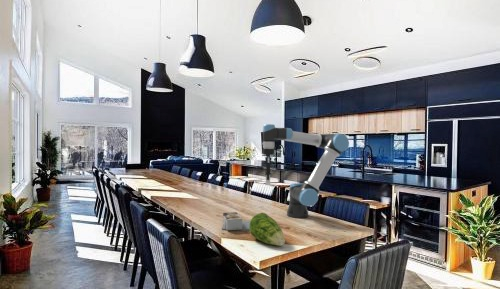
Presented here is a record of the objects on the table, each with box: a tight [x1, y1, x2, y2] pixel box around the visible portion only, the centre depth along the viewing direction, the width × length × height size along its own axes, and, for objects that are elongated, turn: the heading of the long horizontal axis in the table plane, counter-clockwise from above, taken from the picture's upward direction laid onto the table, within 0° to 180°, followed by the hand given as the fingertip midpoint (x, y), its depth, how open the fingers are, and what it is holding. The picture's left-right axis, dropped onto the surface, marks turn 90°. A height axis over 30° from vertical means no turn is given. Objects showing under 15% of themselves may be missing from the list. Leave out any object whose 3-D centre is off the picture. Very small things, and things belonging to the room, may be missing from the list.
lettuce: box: [249, 212, 286, 247], centre depth 157 cm, size 14×23×13 cm, turn 33°
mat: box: [221, 220, 251, 232], centre depth 185 cm, size 18×18×1 cm
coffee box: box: [222, 211, 243, 231], centre depth 182 cm, size 9×6×16 cm
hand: (267, 184), depth 194 cm, fingers closed
